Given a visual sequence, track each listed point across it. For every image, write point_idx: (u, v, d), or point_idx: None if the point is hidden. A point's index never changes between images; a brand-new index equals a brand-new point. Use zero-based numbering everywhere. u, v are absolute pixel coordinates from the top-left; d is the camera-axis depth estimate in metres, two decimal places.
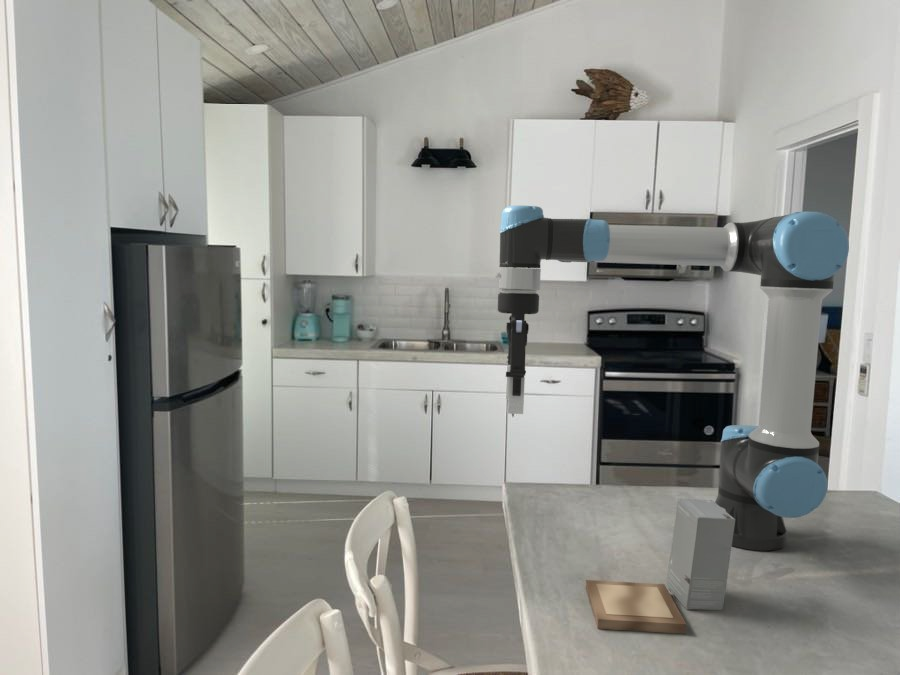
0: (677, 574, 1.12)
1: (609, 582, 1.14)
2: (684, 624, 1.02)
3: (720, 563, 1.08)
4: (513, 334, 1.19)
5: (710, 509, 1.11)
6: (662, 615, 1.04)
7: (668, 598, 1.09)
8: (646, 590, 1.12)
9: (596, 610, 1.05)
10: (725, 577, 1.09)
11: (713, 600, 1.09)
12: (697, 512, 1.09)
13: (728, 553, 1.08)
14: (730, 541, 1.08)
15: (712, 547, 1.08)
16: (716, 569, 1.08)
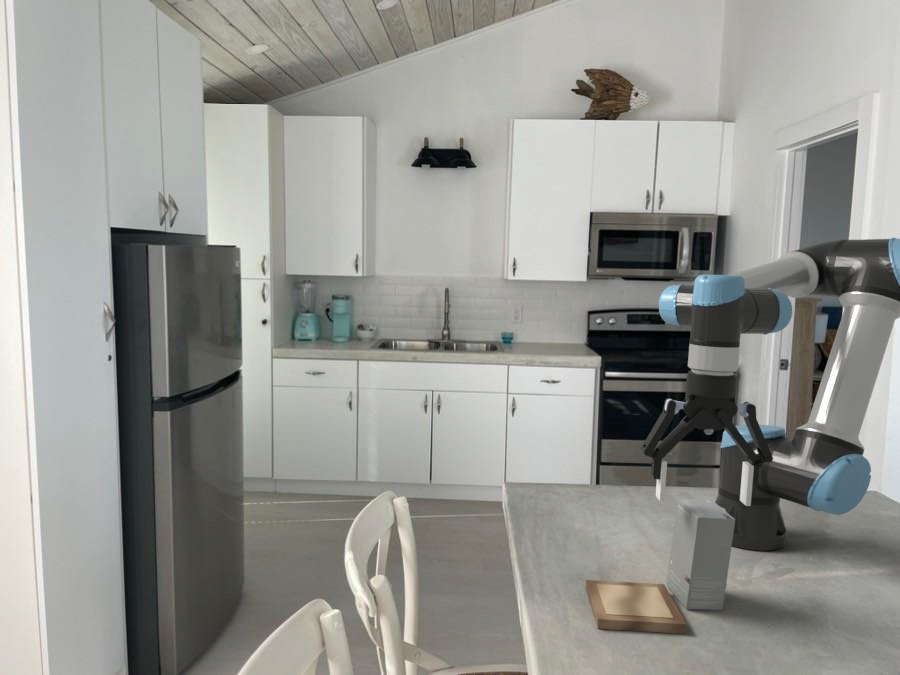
0: (677, 574, 1.12)
1: (609, 582, 1.14)
2: (684, 624, 1.02)
3: (720, 563, 1.08)
4: (662, 412, 1.11)
5: (710, 509, 1.11)
6: (662, 615, 1.04)
7: (668, 598, 1.09)
8: (646, 590, 1.12)
9: (596, 610, 1.05)
10: (725, 577, 1.09)
11: (713, 600, 1.09)
12: (697, 512, 1.09)
13: (728, 553, 1.08)
14: (730, 541, 1.08)
15: (712, 548, 1.08)
16: (716, 569, 1.08)
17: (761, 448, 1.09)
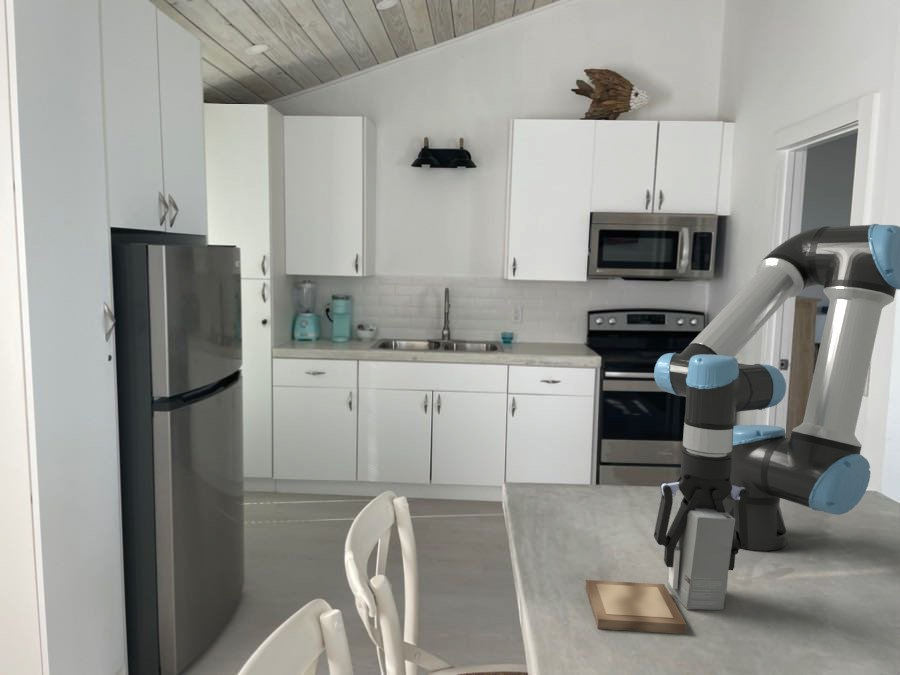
0: None
1: (609, 582, 1.14)
2: (684, 624, 1.02)
3: (720, 563, 1.08)
4: (661, 497, 1.12)
5: (710, 509, 1.11)
6: (662, 615, 1.04)
7: (668, 598, 1.09)
8: (646, 590, 1.12)
9: (596, 610, 1.05)
10: (725, 577, 1.09)
11: (714, 600, 1.09)
12: (697, 512, 1.09)
13: (728, 553, 1.08)
14: (731, 541, 1.08)
15: (712, 547, 1.08)
16: (716, 569, 1.08)
17: (740, 533, 1.10)
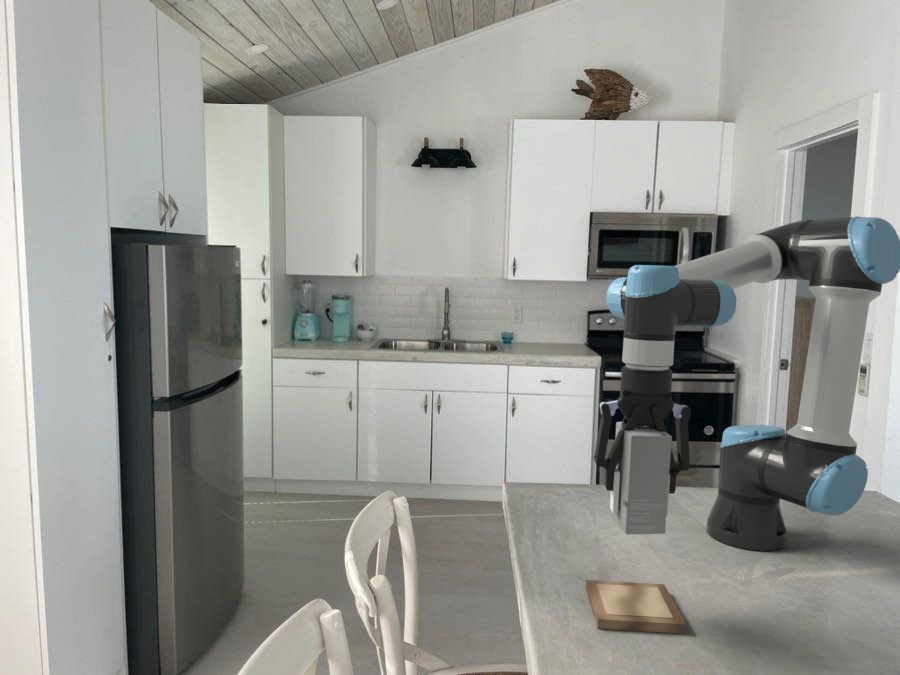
0: None
1: (609, 582, 1.14)
2: (684, 624, 1.02)
3: (659, 484, 1.02)
4: (601, 418, 1.07)
5: (648, 429, 1.05)
6: (662, 615, 1.04)
7: (668, 598, 1.09)
8: (646, 590, 1.12)
9: (596, 610, 1.05)
10: (665, 498, 1.03)
11: (654, 523, 1.03)
12: (632, 431, 1.03)
13: (666, 472, 1.02)
14: (668, 460, 1.02)
15: (649, 467, 1.02)
16: (654, 491, 1.02)
17: (682, 454, 1.04)
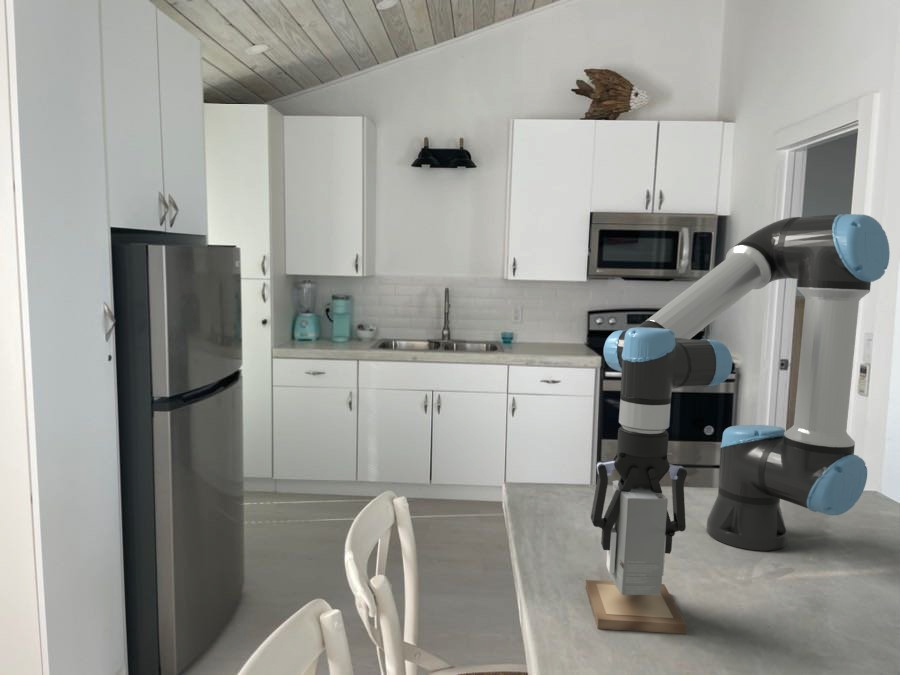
0: None
1: (609, 582, 1.14)
2: (684, 624, 1.02)
3: (655, 546, 1.03)
4: None
5: (644, 489, 1.06)
6: (662, 615, 1.04)
7: (668, 598, 1.09)
8: None
9: (596, 610, 1.05)
10: (661, 560, 1.04)
11: (650, 584, 1.04)
12: (628, 493, 1.04)
13: (662, 534, 1.03)
14: (664, 522, 1.03)
15: (645, 530, 1.03)
16: (650, 552, 1.03)
17: (678, 515, 1.05)
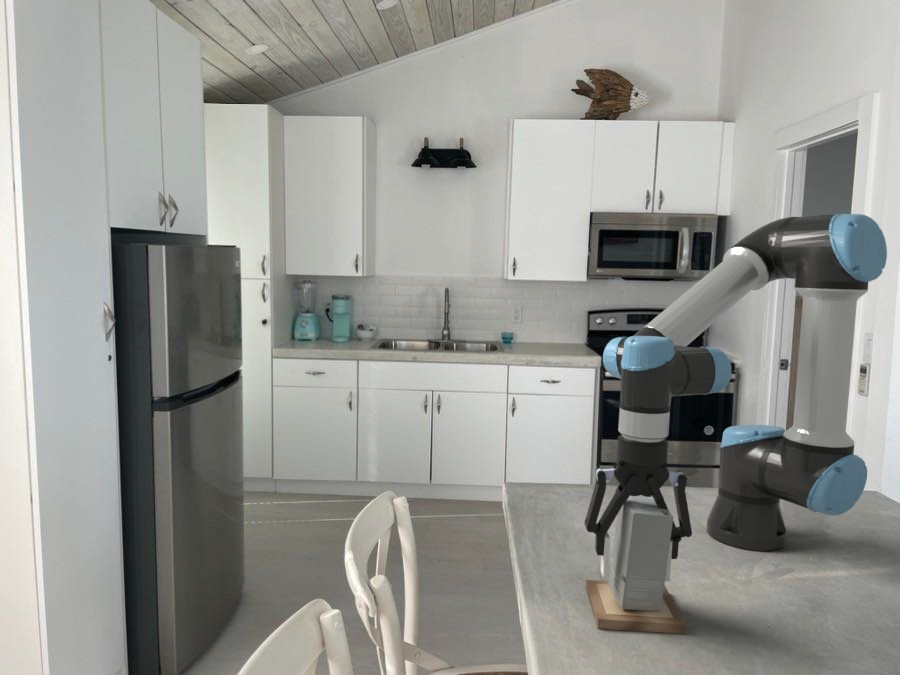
0: (616, 573, 1.08)
1: None
2: (684, 624, 1.02)
3: (657, 562, 1.04)
4: (596, 483, 1.08)
5: (650, 505, 1.06)
6: (662, 615, 1.04)
7: (668, 598, 1.09)
8: None
9: (596, 610, 1.05)
10: (663, 577, 1.04)
11: (650, 600, 1.04)
12: (634, 507, 1.05)
13: (666, 551, 1.04)
14: (668, 539, 1.03)
15: (649, 545, 1.03)
16: (653, 568, 1.04)
17: (682, 521, 1.05)
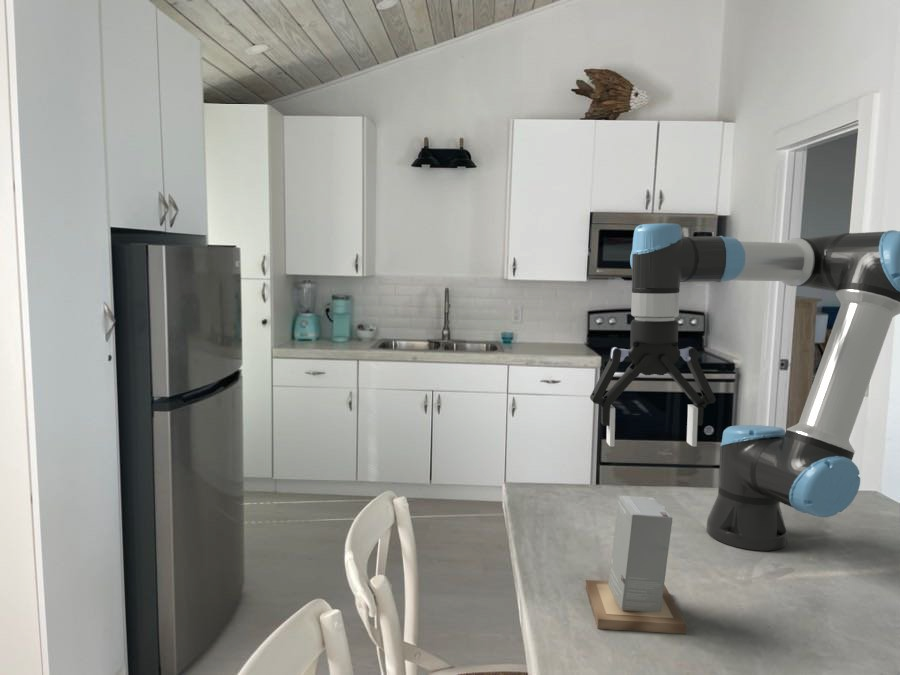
0: (616, 574, 1.08)
1: None
2: (684, 624, 1.02)
3: (657, 563, 1.04)
4: (609, 361, 1.14)
5: (649, 506, 1.06)
6: (662, 615, 1.04)
7: (668, 598, 1.09)
8: None
9: (596, 610, 1.05)
10: (663, 578, 1.04)
11: (650, 601, 1.04)
12: (633, 509, 1.05)
13: (665, 552, 1.03)
14: (668, 540, 1.03)
15: (648, 547, 1.03)
16: (652, 570, 1.04)
17: (704, 390, 1.12)
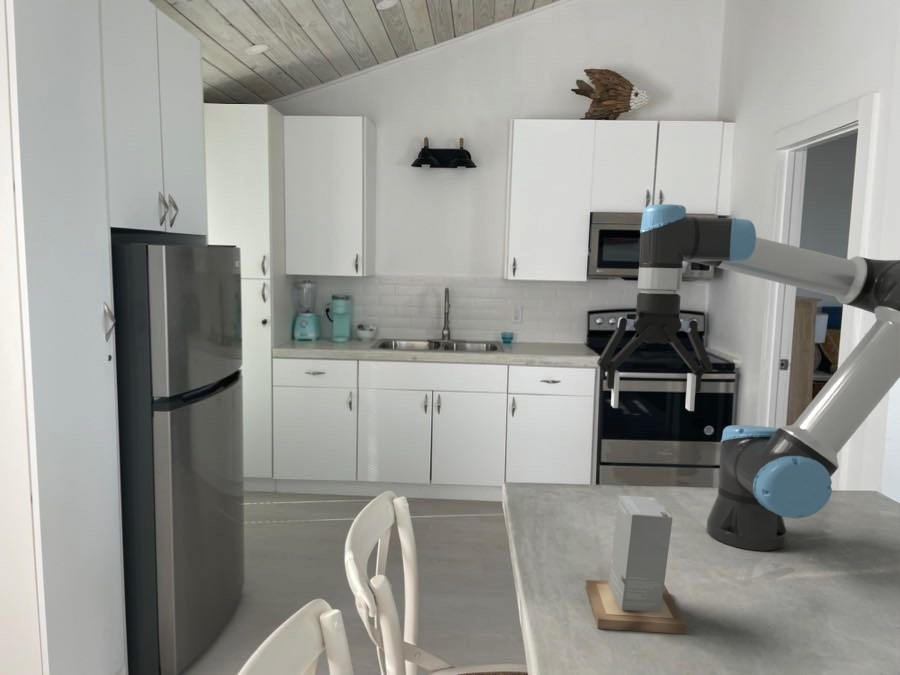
0: (616, 574, 1.08)
1: None
2: (684, 624, 1.02)
3: (657, 563, 1.04)
4: (615, 330, 1.25)
5: (649, 506, 1.06)
6: (662, 615, 1.04)
7: (668, 598, 1.09)
8: None
9: (596, 610, 1.05)
10: (663, 578, 1.04)
11: (650, 601, 1.04)
12: (633, 509, 1.05)
13: (665, 552, 1.03)
14: (668, 540, 1.03)
15: (648, 547, 1.03)
16: (652, 570, 1.04)
17: (702, 359, 1.23)
